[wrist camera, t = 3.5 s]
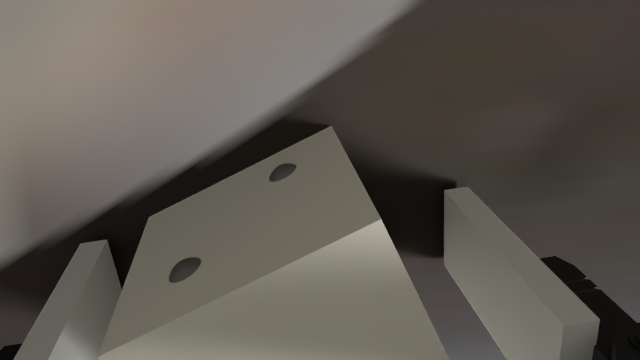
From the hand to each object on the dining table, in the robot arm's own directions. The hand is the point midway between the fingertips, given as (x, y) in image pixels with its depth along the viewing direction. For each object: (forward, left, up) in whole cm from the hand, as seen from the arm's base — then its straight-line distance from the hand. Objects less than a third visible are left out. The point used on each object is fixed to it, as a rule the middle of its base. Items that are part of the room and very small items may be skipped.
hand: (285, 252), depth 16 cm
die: (0, 0, 0) cm, 0 cm away
